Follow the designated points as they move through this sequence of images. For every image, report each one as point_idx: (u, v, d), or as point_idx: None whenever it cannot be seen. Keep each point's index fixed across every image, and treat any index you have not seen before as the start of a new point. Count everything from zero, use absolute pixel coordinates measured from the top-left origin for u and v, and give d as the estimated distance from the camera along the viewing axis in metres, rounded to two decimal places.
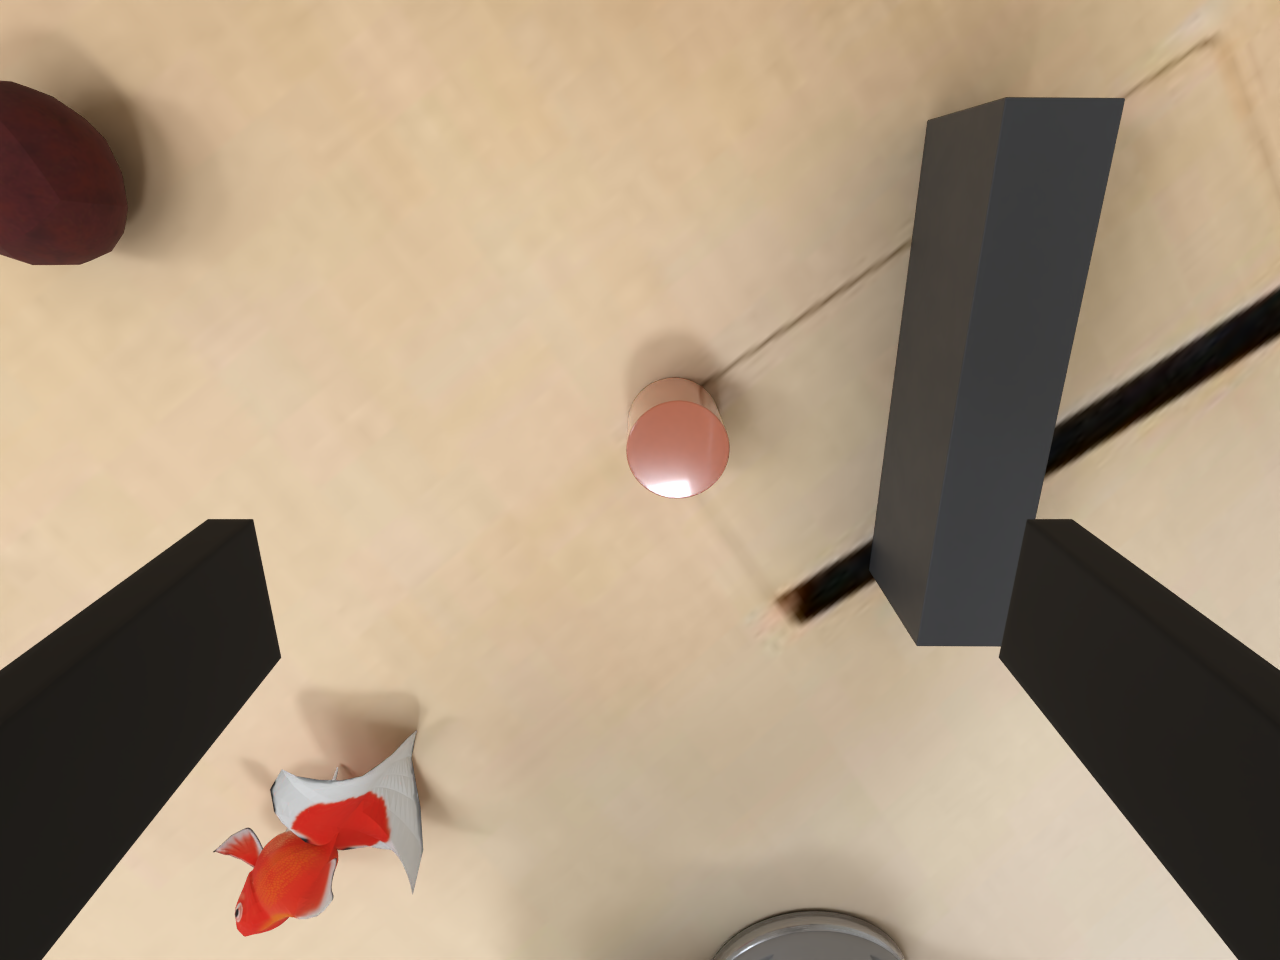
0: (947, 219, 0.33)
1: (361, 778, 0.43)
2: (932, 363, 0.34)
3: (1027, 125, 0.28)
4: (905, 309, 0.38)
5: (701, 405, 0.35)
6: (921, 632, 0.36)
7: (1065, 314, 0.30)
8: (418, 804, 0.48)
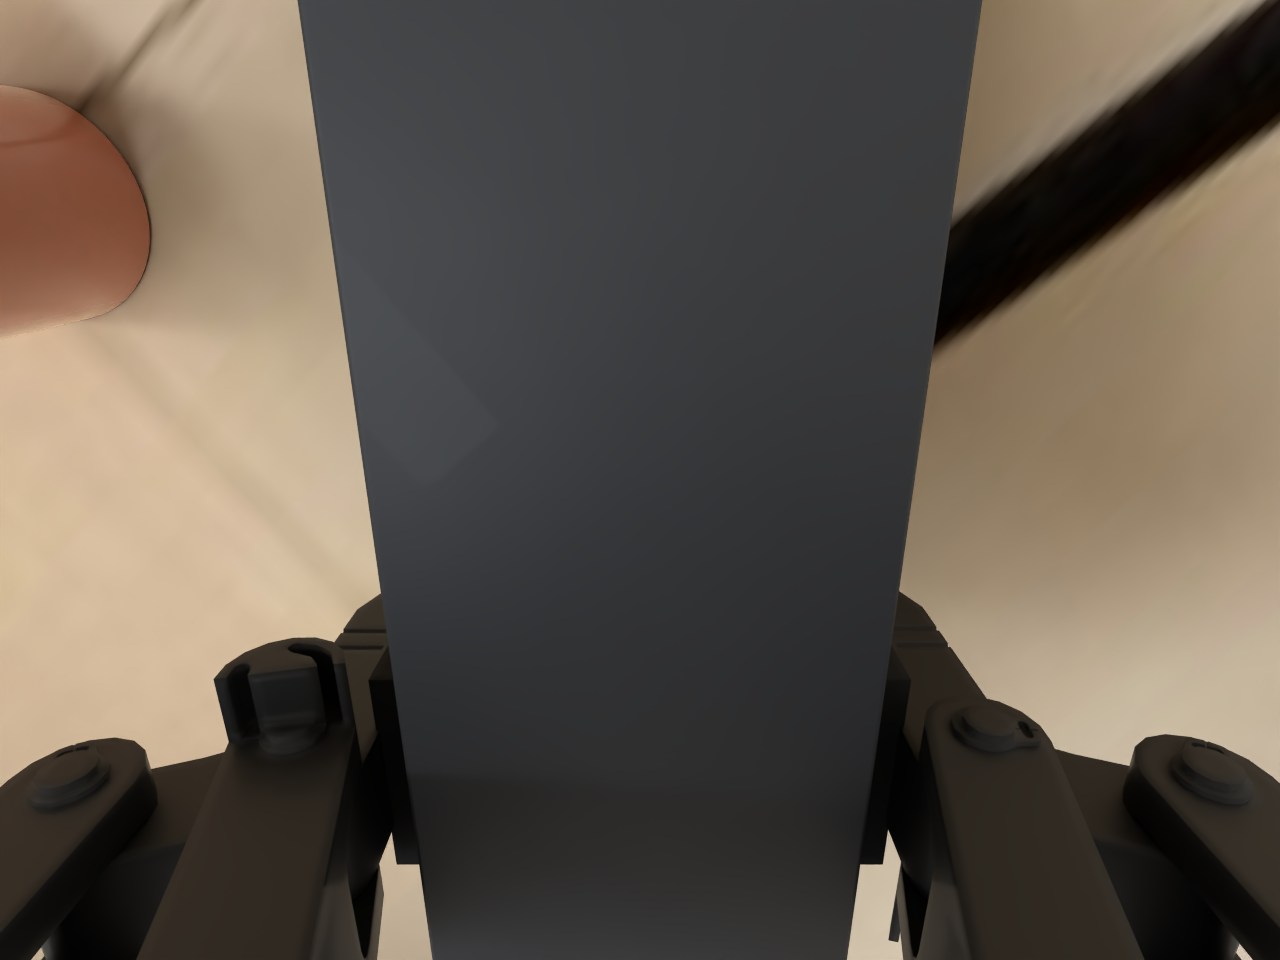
0: None
1: None
2: None
3: None
4: None
5: None
6: None
7: None
8: None
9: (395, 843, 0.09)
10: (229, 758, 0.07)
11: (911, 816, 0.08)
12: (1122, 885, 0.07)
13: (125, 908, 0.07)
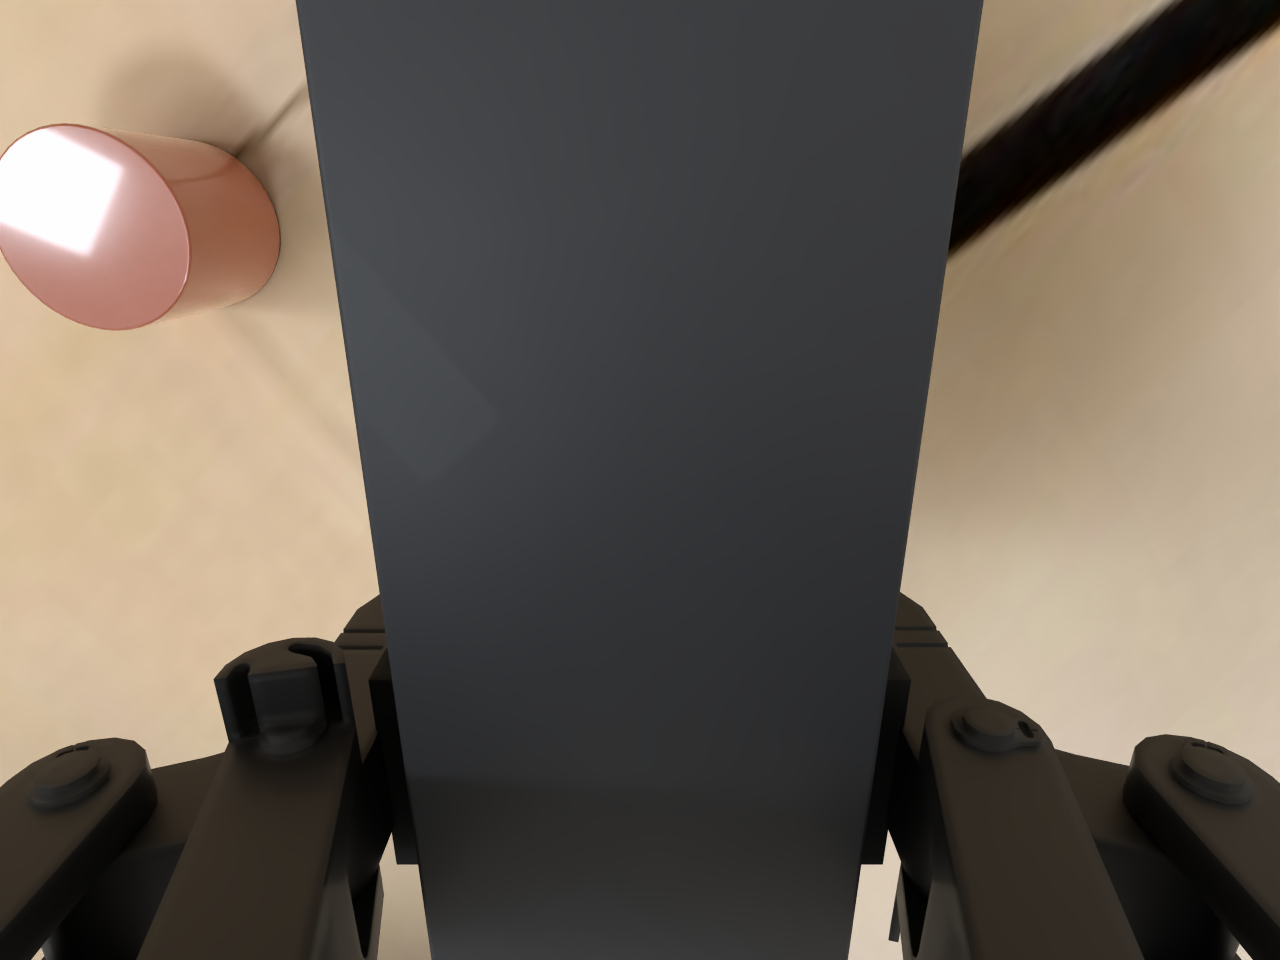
0: None
1: None
2: None
3: None
4: None
5: (113, 134, 0.18)
6: None
7: None
8: None
9: (395, 843, 0.09)
10: (228, 758, 0.07)
11: (911, 816, 0.08)
12: (1122, 885, 0.07)
13: (125, 908, 0.07)
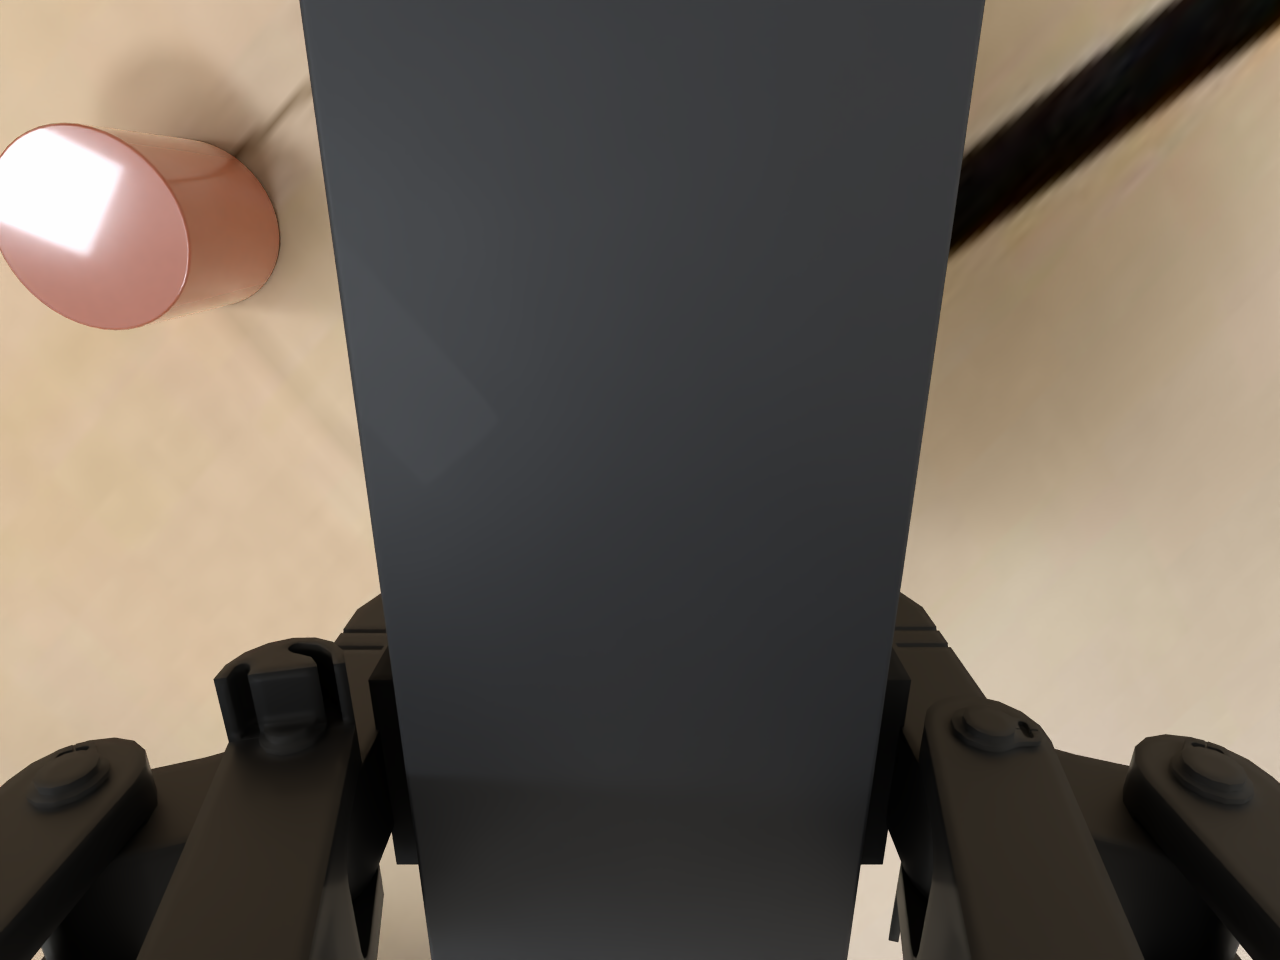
0: None
1: None
2: None
3: None
4: None
5: (112, 133, 0.18)
6: None
7: None
8: None
9: (395, 843, 0.09)
10: (228, 758, 0.07)
11: (911, 816, 0.08)
12: (1122, 885, 0.07)
13: (125, 908, 0.07)
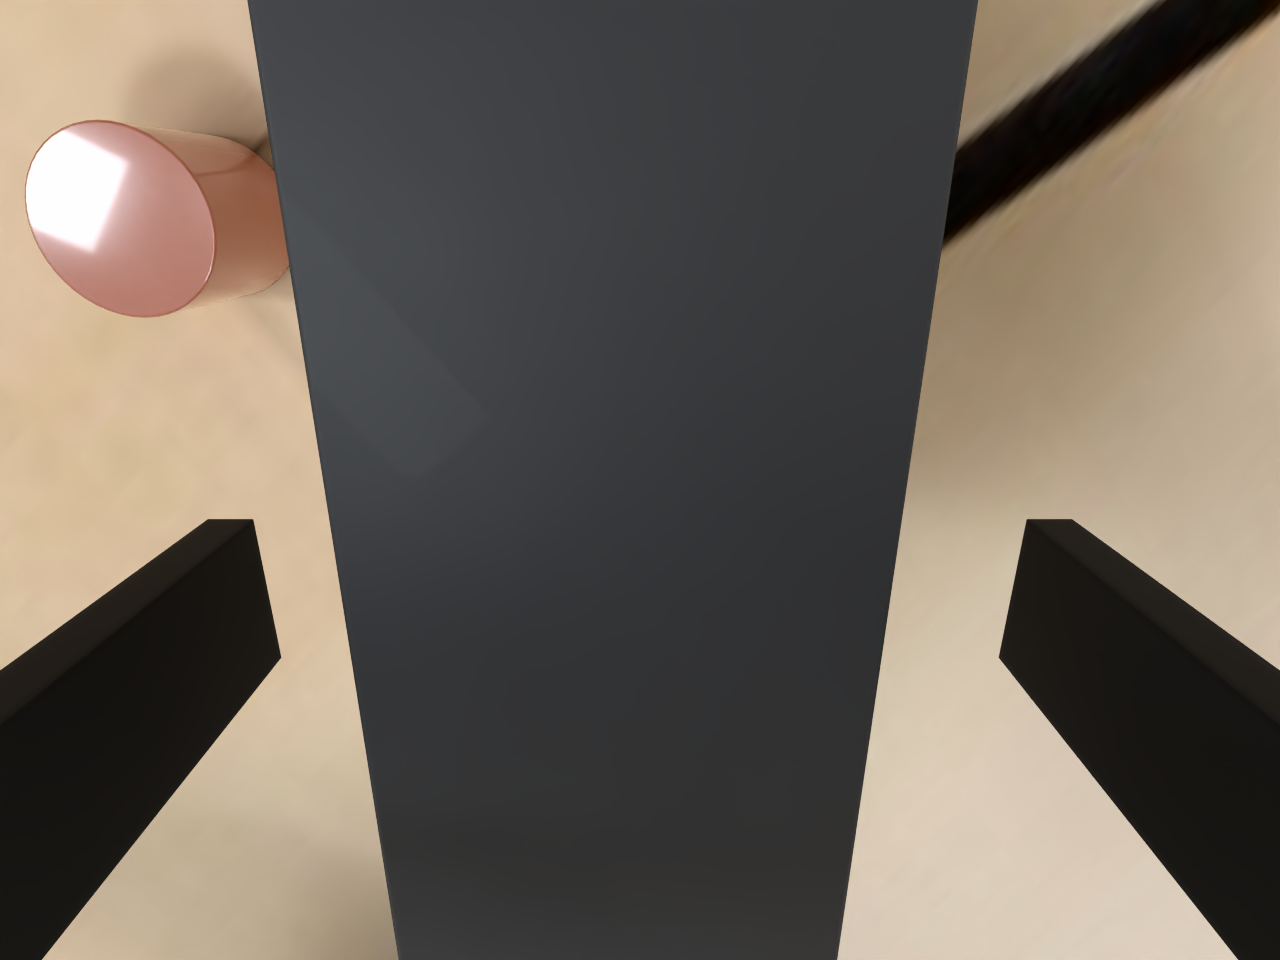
0: None
1: None
2: None
3: None
4: None
5: (143, 130, 0.19)
6: None
7: None
8: None
9: None
10: None
11: None
12: None
13: None
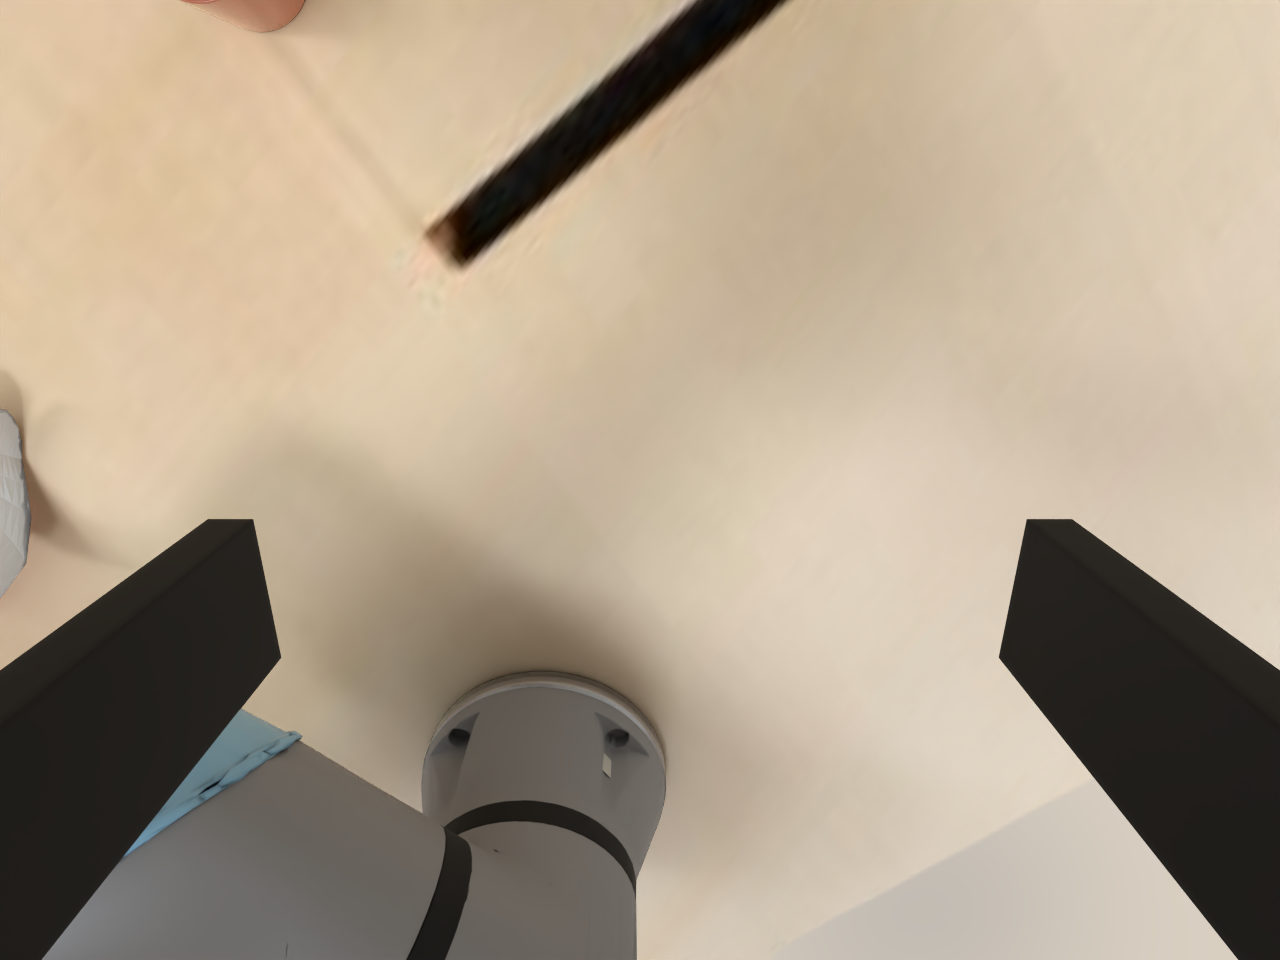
0: None
1: None
2: None
3: None
4: None
5: None
6: None
7: None
8: (28, 515, 0.40)
9: None
10: None
11: None
12: None
13: None
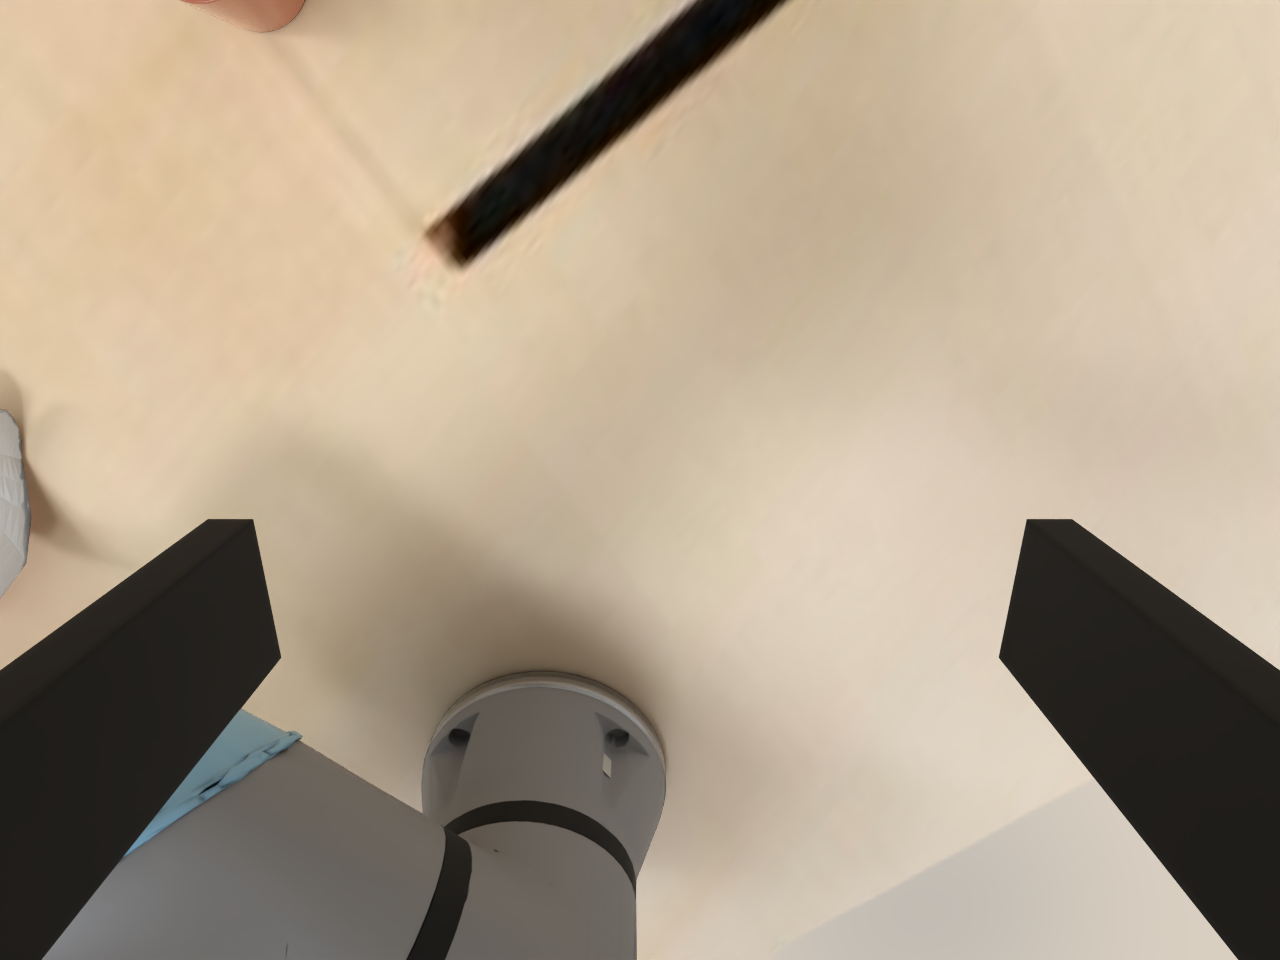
0: None
1: None
2: None
3: None
4: None
5: None
6: None
7: None
8: (28, 515, 0.40)
9: None
10: None
11: None
12: None
13: None
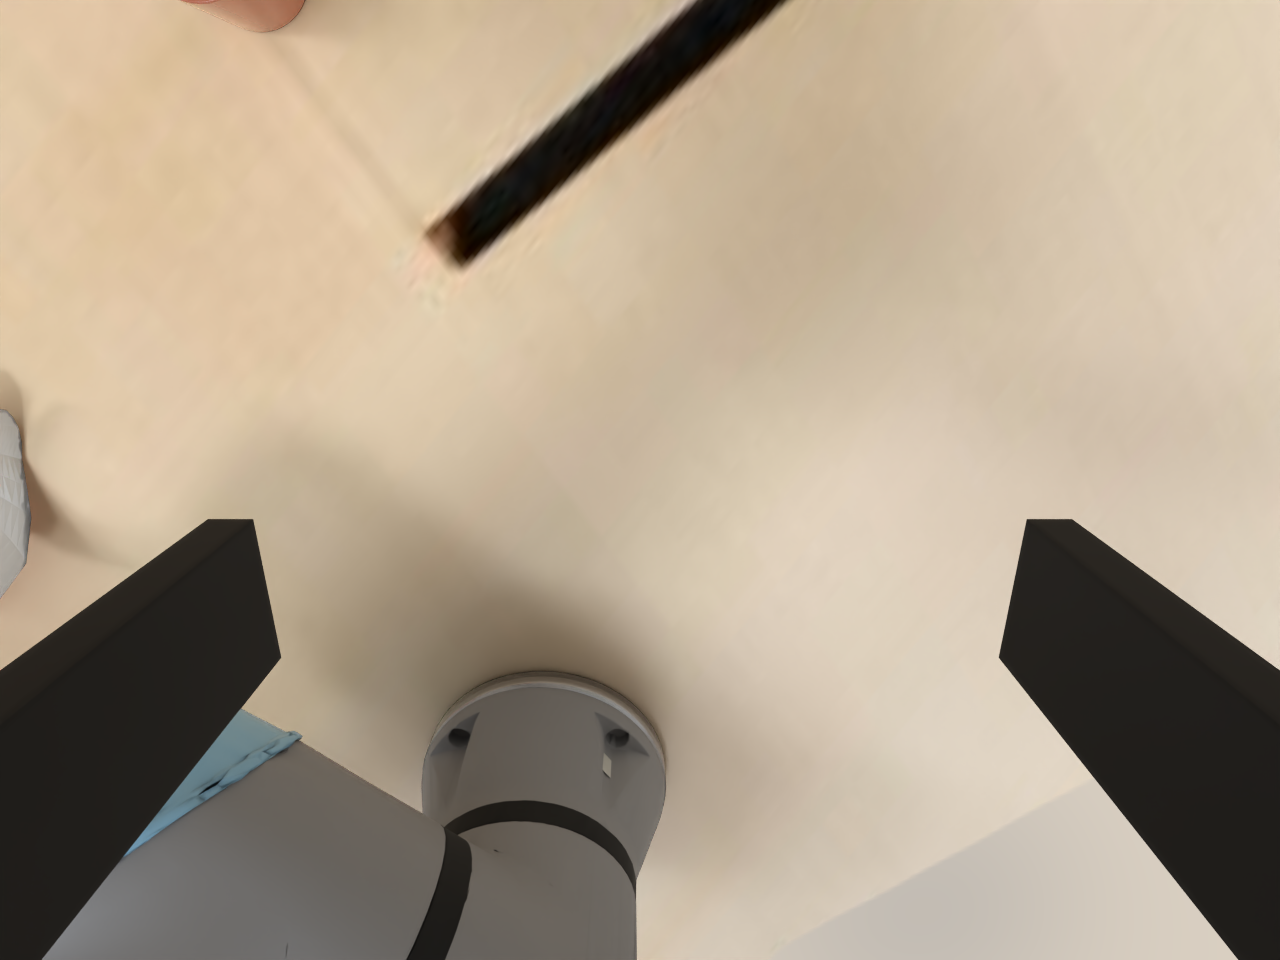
0: None
1: None
2: None
3: None
4: None
5: None
6: None
7: None
8: (28, 515, 0.40)
9: None
10: None
11: None
12: None
13: None
